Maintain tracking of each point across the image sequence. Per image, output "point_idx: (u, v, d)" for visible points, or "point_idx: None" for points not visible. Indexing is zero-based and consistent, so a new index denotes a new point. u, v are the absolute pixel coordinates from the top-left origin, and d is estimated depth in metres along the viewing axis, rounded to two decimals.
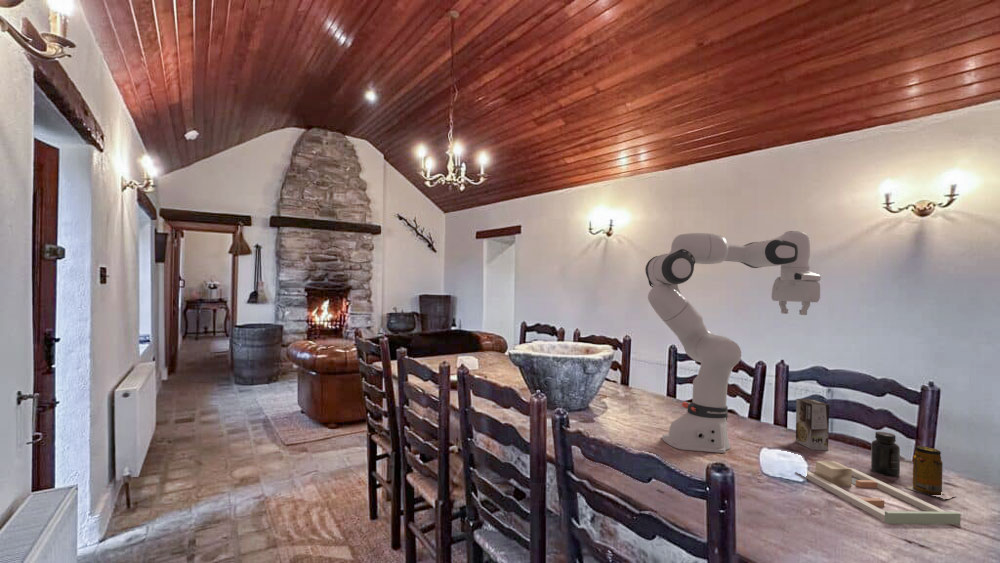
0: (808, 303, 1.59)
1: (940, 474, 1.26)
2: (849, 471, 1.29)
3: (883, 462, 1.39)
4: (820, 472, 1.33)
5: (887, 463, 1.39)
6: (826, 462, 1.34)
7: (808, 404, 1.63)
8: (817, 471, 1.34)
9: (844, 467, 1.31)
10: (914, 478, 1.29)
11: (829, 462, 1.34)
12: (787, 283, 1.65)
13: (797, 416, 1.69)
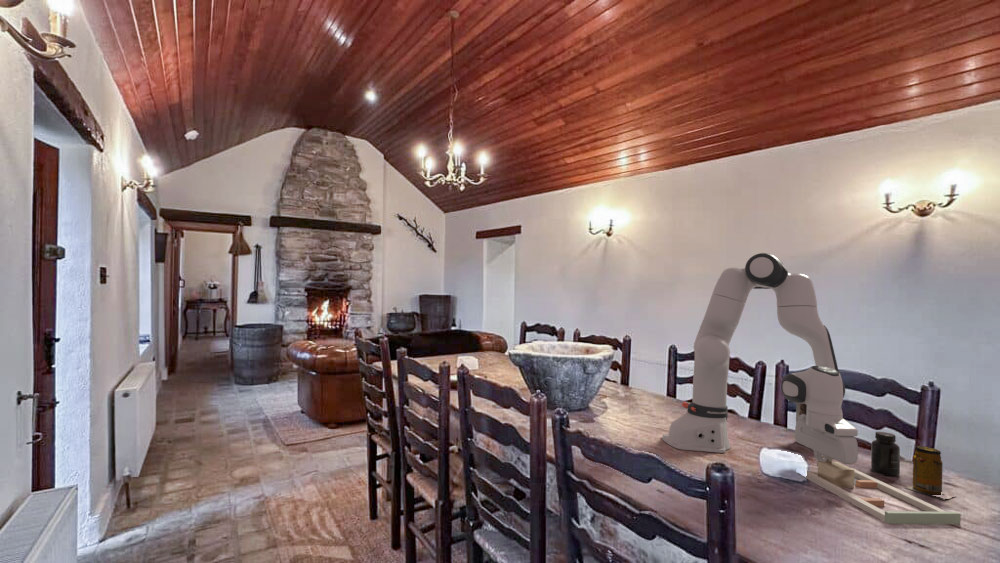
0: None
1: (940, 474, 1.26)
2: (852, 472, 1.29)
3: (883, 462, 1.39)
4: (822, 473, 1.32)
5: (887, 463, 1.39)
6: (828, 463, 1.33)
7: None
8: (819, 472, 1.33)
9: (847, 468, 1.30)
10: (914, 478, 1.29)
11: (831, 463, 1.33)
12: (815, 431, 1.36)
13: (797, 416, 1.69)
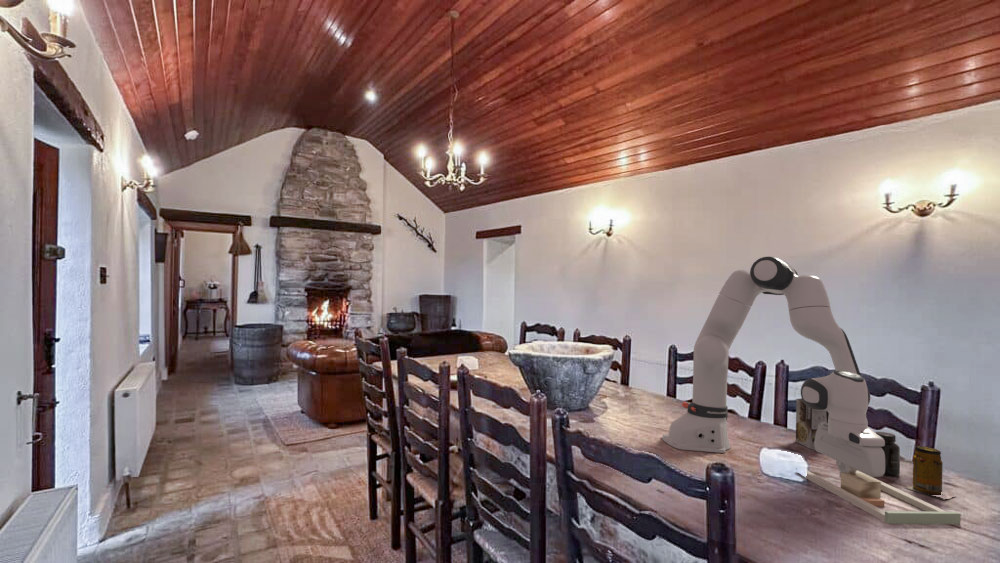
0: None
1: (940, 474, 1.26)
2: (878, 484, 1.20)
3: None
4: (846, 485, 1.24)
5: (887, 463, 1.39)
6: (852, 474, 1.25)
7: None
8: (842, 484, 1.25)
9: (872, 480, 1.22)
10: (914, 478, 1.29)
11: (855, 474, 1.25)
12: (838, 440, 1.27)
13: (797, 416, 1.69)
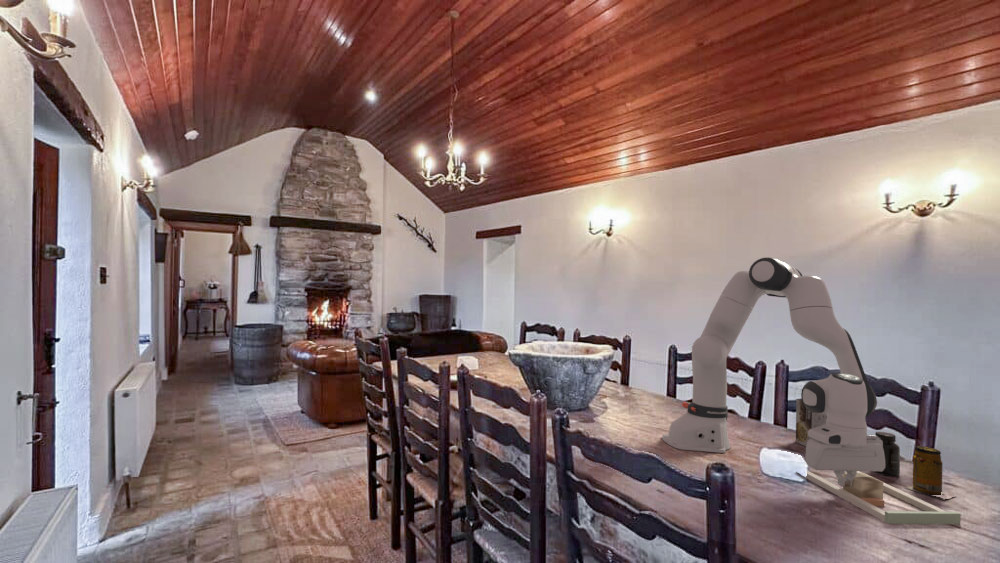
0: (837, 471, 1.23)
1: (940, 474, 1.26)
2: (880, 484, 1.20)
3: None
4: None
5: (887, 463, 1.39)
6: None
7: None
8: None
9: (875, 480, 1.22)
10: (914, 478, 1.29)
11: (857, 474, 1.25)
12: None
13: (797, 416, 1.69)
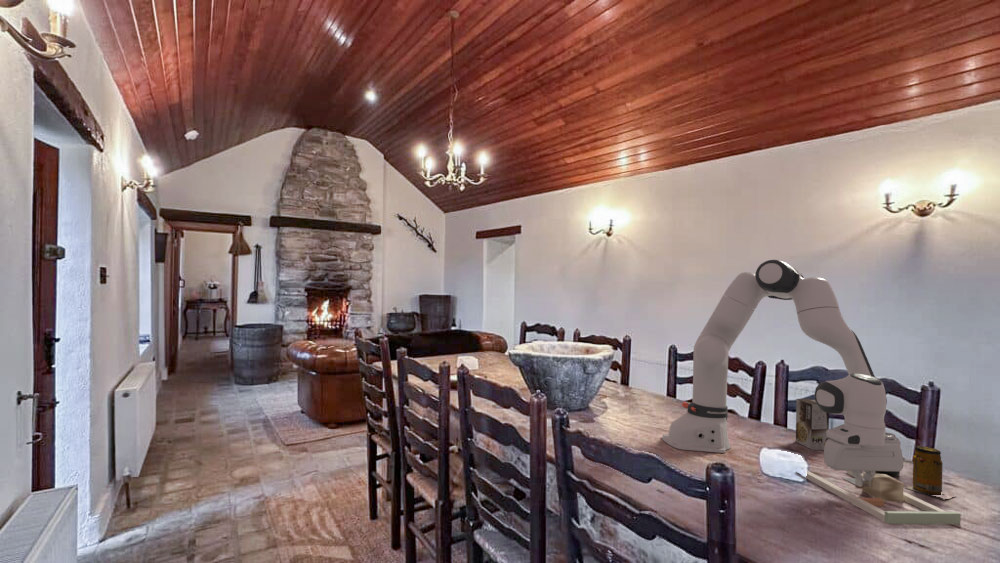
0: (855, 471, 1.23)
1: (940, 474, 1.26)
2: (900, 485, 1.20)
3: None
4: None
5: None
6: (875, 475, 1.25)
7: (808, 404, 1.63)
8: None
9: (895, 481, 1.22)
10: (914, 478, 1.29)
11: (878, 475, 1.25)
12: None
13: (797, 416, 1.69)
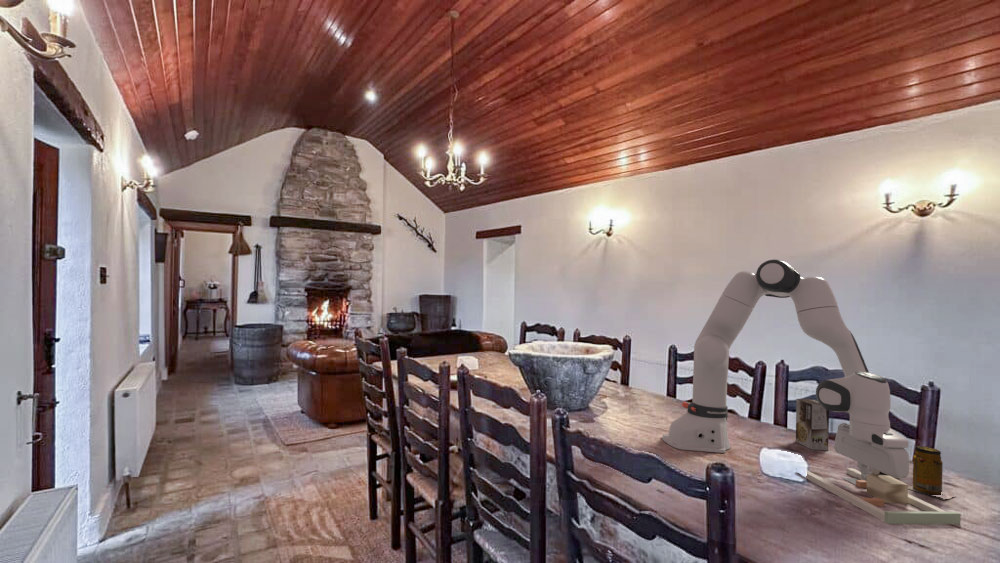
0: (877, 469, 1.25)
1: (940, 474, 1.26)
2: (905, 487, 1.19)
3: None
4: (871, 486, 1.24)
5: None
6: (879, 476, 1.24)
7: (808, 404, 1.63)
8: (868, 485, 1.25)
9: (899, 482, 1.21)
10: (914, 478, 1.29)
11: (882, 477, 1.24)
12: (860, 441, 1.27)
13: (797, 416, 1.69)
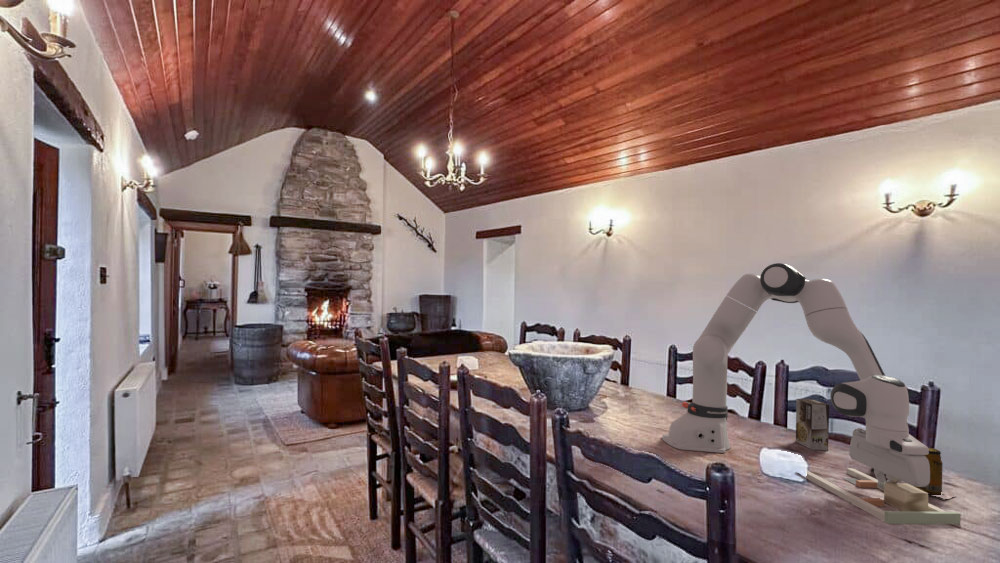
0: None
1: (940, 474, 1.26)
2: (925, 496, 1.14)
3: None
4: (890, 495, 1.18)
5: None
6: (897, 484, 1.19)
7: (808, 404, 1.63)
8: (886, 494, 1.19)
9: (919, 491, 1.15)
10: None
11: (900, 485, 1.19)
12: (877, 448, 1.22)
13: (797, 416, 1.69)
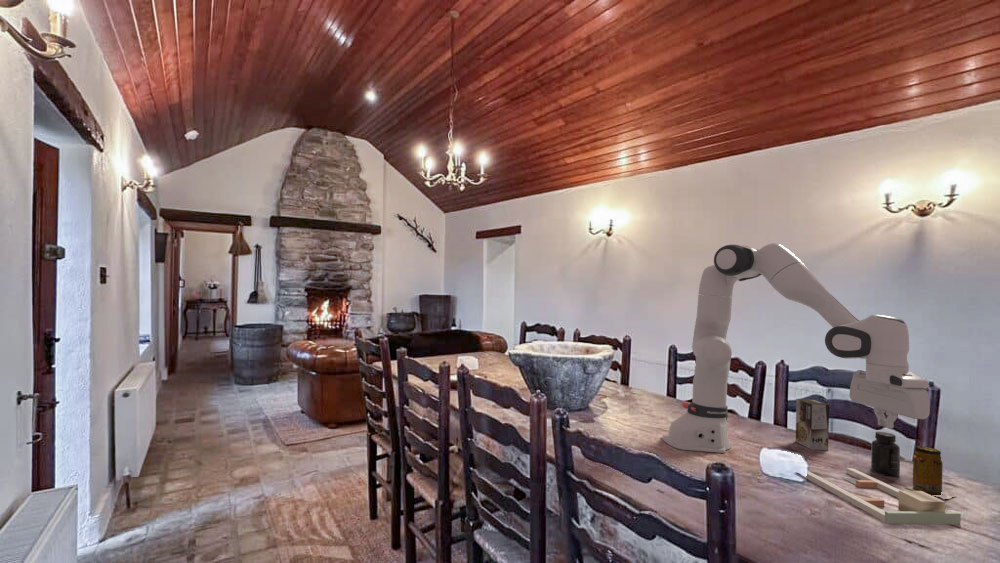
0: (896, 413, 1.20)
1: (940, 474, 1.26)
2: (942, 504, 1.10)
3: (883, 462, 1.39)
4: (905, 504, 1.14)
5: (887, 463, 1.39)
6: (912, 492, 1.15)
7: (808, 404, 1.63)
8: (901, 502, 1.15)
9: (935, 499, 1.11)
10: (914, 478, 1.29)
11: (915, 493, 1.14)
12: (877, 385, 1.22)
13: (797, 416, 1.69)
